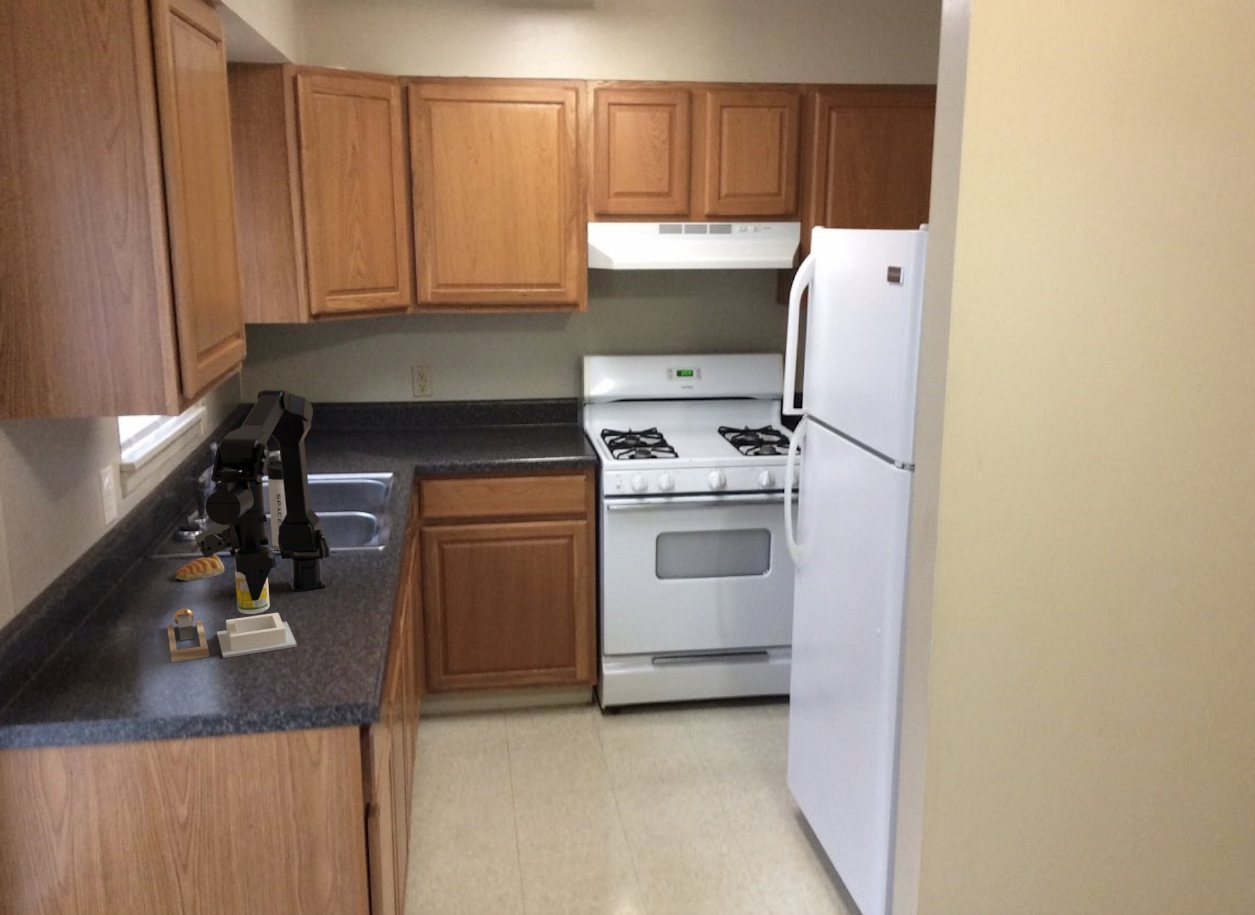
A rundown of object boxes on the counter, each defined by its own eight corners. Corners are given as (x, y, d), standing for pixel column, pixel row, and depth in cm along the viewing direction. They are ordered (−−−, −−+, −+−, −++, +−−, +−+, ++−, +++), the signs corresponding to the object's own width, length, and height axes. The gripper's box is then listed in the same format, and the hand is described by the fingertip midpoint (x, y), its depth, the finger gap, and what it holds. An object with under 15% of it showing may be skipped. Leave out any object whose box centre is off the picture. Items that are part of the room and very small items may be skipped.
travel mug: (290, 541, 242) (284, 458, 238) (306, 546, 237) (301, 462, 233) (266, 547, 237) (260, 462, 233) (282, 552, 233) (276, 466, 229)
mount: (167, 630, 186) (166, 622, 186) (202, 625, 188) (201, 617, 188) (171, 662, 172) (170, 654, 171) (208, 656, 174) (208, 648, 174)
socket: (217, 634, 184) (215, 618, 183) (286, 624, 189) (285, 608, 189) (223, 658, 174) (221, 641, 173) (296, 646, 179) (295, 630, 178)
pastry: (187, 585, 211) (186, 567, 210) (168, 579, 215) (167, 562, 214) (227, 573, 219) (226, 556, 218) (208, 568, 223) (207, 551, 222)
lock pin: (175, 626, 188) (173, 609, 187) (193, 623, 189) (192, 607, 188) (177, 640, 181) (175, 623, 180) (196, 638, 182) (195, 620, 182)
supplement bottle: (263, 614, 178) (259, 561, 176) (232, 614, 178) (228, 561, 176) (274, 603, 183) (270, 552, 181) (244, 603, 183) (240, 551, 181)
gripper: (192, 501, 181) (199, 585, 185) (200, 527, 165) (208, 619, 168) (259, 495, 186) (265, 577, 189) (272, 520, 170) (279, 609, 173)
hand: (253, 595), depth 180 cm, fingers closed on supplement bottle, 5 cm apart
